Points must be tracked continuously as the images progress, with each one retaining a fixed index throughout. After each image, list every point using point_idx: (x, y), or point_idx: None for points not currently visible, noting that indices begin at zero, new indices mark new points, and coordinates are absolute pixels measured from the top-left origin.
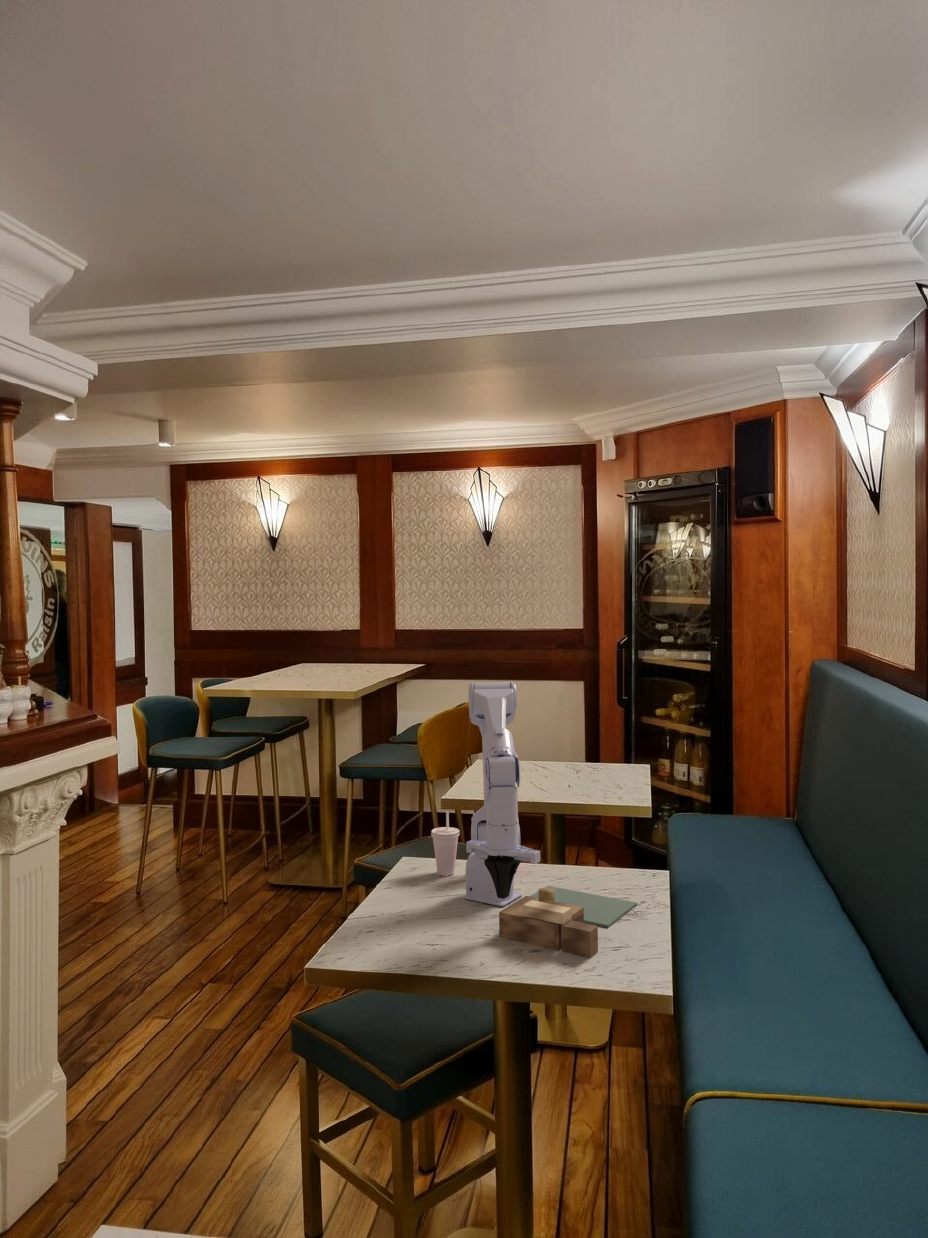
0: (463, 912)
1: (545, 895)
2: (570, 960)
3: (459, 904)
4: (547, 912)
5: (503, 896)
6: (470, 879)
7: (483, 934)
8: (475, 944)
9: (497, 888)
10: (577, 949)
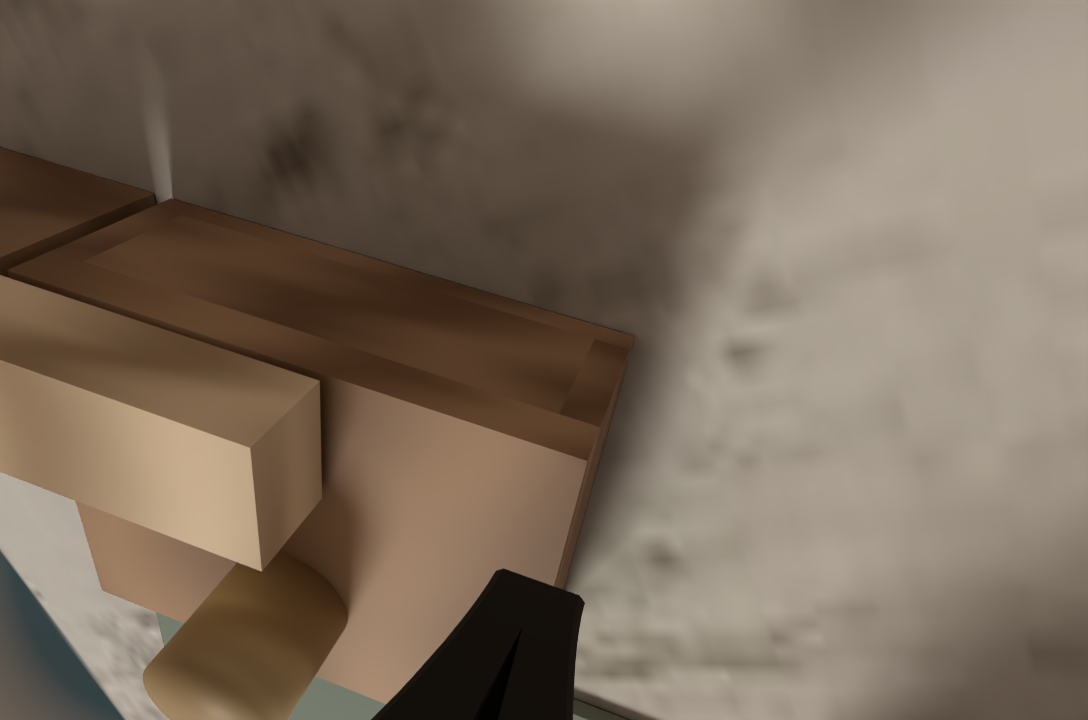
0: (1042, 706)
1: (191, 641)
2: (32, 61)
3: None
4: (14, 343)
5: (487, 590)
6: None
7: (780, 359)
8: (802, 129)
9: (528, 685)
10: (16, 173)
